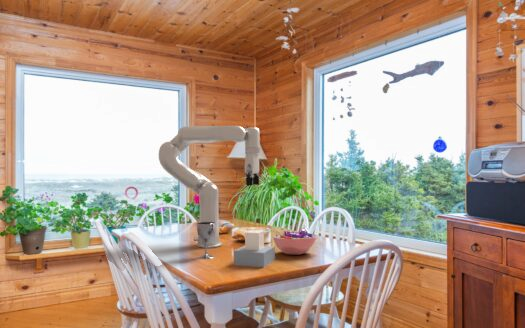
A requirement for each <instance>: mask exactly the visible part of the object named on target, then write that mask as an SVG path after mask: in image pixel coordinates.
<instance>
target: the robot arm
mask: <svg viewBox="0 0 525 328" xmlns="http://www.w3.org/2000/svg"><path fill="white" fill-rule="evenodd" d="M260 134H261V133H260V129H259V128H258V127H245V128H243V126H240V125H217V126H216V125H211V126H209V125H207V126H205V125H204V126H203V125H202V126H201V125H198V126H195V125H191V126H189V125H188V126H187V125H186V126H182V127H180V128H179V130H178V131H177V134H176V135H175V136H174V137H173V138H172V139H171V140H170V141H165V142H163V143H162V144H161V145H160V147H159V149H158V160H159V163H160V165H161V167H162V168H163V170H164V171H166V173H168V174H169V175H170V176H171V177H173V178H174V179H176V180H177V181H178V182H179V183H181V184H182V185H183V186H185V188H187V189H190V190H191V191H193V192H194V193H195V194H196V195H198V197H199V201H198V202H199V222H215V230H214V235H213V237H212V238H211V239H210V240H209V242H208V244H207V249H209V248H218V247H221V246H222V245H223V242H221V241H220V228H219V227H220V224H219V223H220V216H219V213H220V212H219V207H220V204H219V201H220V200H219V199H220V198H219V197H220V195H219V194H220V193H219V188H218V186H217V185H216V184H215V183H214V182H212V181H211V180H210V179H208V178H207V177H205V176H204V175H203V174H202V173H200V172H199V171H197V170H194V169H192V168H191V167H189V166H188V165H186V164H185V163H184V162H183V161H181V160H180V159H179V158H178V157H179V156H180V155H181V154H182V153H183V152H184V151H185V150H186V149H187V148H188V147H189V146H190V145H191V144H211V143H212V144H213V143H217V142H234V143H240V142H241V143H243V142H244V154H245V157H244V173H245V184H246V186H253V185H254V186H257V185H259V184H260V157H259V156H260V154H261V153H260V152H261V149H260V144H261V142H260V141H261V139H260V137H261V136H260ZM193 241H194V242H197V243H196V247H199V248H204V249H205V245H204V242H203V241H202V240H201V239H200V237H199V236H194V237H193Z"/></svg>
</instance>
